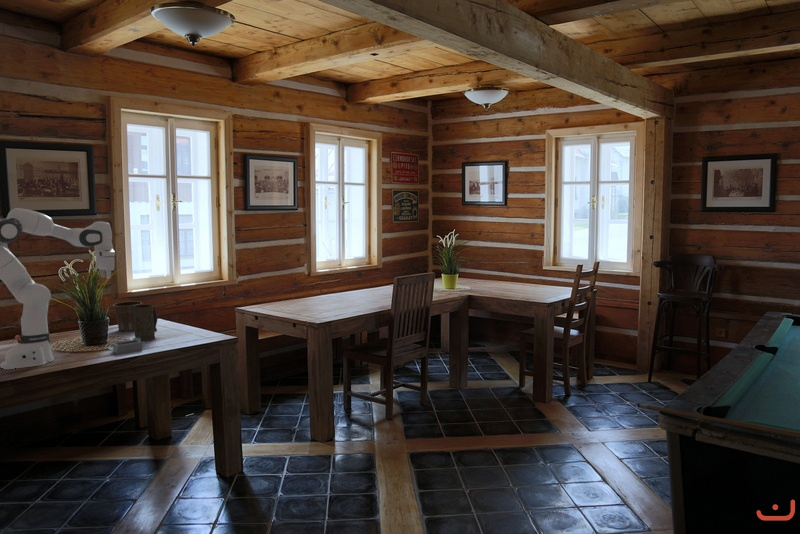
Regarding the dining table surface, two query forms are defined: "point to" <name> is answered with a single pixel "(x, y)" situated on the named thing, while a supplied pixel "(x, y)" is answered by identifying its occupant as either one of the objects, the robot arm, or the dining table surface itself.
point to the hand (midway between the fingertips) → (105, 278)
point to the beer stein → (145, 322)
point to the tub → (127, 346)
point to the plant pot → (125, 315)
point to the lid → (133, 339)
